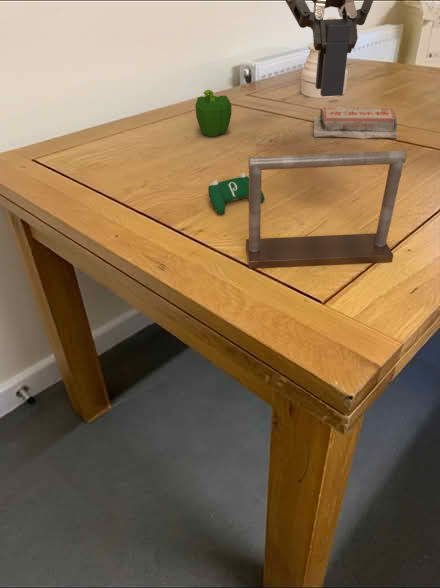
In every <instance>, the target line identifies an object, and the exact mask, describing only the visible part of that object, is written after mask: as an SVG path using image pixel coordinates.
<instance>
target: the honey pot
mask: <svg viewBox="0 0 440 588" xmlns="http://www.w3.org/2000/svg"><path fill="white" fill-rule="evenodd" d="M329 19H338V17H334V16H333V17H331V16H330V17H326V20H329ZM307 49H308V50H309V53H308V55H307V57H306V59H305V60H306V61H305V63H304V67H303V68H302V71H301V77H300V78H301V79H300V90H299V91H300V93H301V94H302V95H303V96H306V97H311V98H320V99H324V98H325V99H329V98H330V99H331V98H337V97H338V96H321V94H320V93H321V89H316V87H315V86H316V74H317V62H318V50H315V48H314V42H311V43H310V44H308V46H307ZM347 66H348V65H347V63H346V70H345V79H344V87H343V95H345V94H346V93H347V88H348V87H347V86H348V77H349V70H348V68H347ZM343 95H342V96H343Z"/></svg>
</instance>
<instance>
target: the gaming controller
mask: <svg viewBox="0 0 440 588" xmlns="http://www.w3.org/2000/svg"><path fill="white" fill-rule="evenodd" d="M207 191H208V193H207V194H208V198H209V201H210V203H211V205H212V207H213V209H214V210H215V212H217V214H218V215H223V214H225V213H226V205H225V204H228V203H230V202H232V201H236V200H242V199H244V198H245V197H246V198H247V199H249V176H247V173H246V172H241V173H240V174H239V175H238V176H237V177H234V178H229V179H226V180H222V181H218V179H214V180H213V181H211V182H210V183H209V184H208V187H207ZM265 200H266V199H265V195H264V192H263V191H262V190H261V204H262V203H264V201H265Z"/></svg>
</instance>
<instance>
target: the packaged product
mask: <svg viewBox="0 0 440 588" xmlns="http://www.w3.org/2000/svg"><path fill="white" fill-rule="evenodd" d="M319 113H320V114H319V116H314V117H313V118H314V119H313V129H312V133H313V137H314V138H327V137H328V138H331V137H332V138H334V137H335V138H353V139H360V140H361V139H362V140H366V139H397V138H398V133H397V128H398V117H397V113H396V109H394V108H391V107H389V108H388V107H355V106H353V107H352V106H350V107H348V106H323V107H322V108H320V112H319Z"/></svg>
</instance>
